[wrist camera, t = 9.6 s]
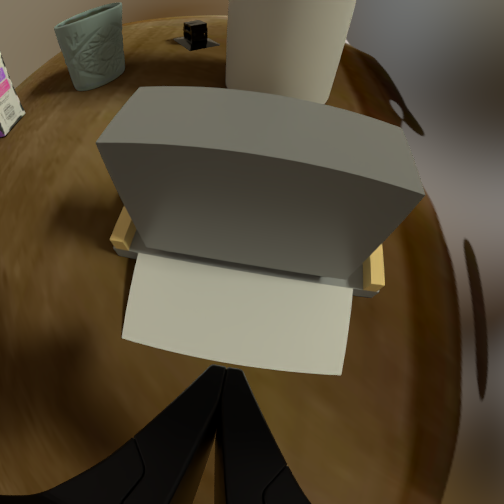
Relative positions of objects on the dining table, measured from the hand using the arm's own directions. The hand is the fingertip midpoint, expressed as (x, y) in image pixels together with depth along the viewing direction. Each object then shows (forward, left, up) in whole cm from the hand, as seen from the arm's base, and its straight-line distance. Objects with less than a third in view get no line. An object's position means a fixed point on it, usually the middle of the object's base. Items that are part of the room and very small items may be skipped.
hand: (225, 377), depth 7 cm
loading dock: (+11, 0, -10) cm, 14 cm away
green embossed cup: (+34, +27, -9) cm, 44 cm away
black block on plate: (+48, +16, -10) cm, 51 cm away
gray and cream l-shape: (+12, 0, -8) cm, 14 cm away
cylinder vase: (+31, 0, -9) cm, 32 cm away
